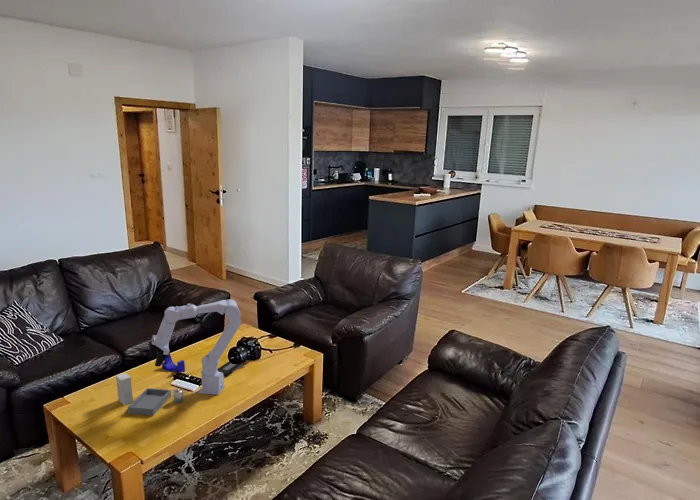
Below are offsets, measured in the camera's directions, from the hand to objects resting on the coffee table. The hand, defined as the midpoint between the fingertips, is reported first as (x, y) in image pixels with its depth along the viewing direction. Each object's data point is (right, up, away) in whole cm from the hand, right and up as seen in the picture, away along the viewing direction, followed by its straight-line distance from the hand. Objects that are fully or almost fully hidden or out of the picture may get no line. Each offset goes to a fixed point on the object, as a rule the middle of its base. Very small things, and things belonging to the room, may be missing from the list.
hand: (154, 361), depth 196 cm
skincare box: (-13, -18, +1) cm, 22 cm away
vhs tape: (+25, -12, +31) cm, 42 cm away
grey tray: (-1, -19, -1) cm, 19 cm away
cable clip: (-3, -12, +29) cm, 32 cm away
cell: (+10, -18, +2) cm, 21 cm away
